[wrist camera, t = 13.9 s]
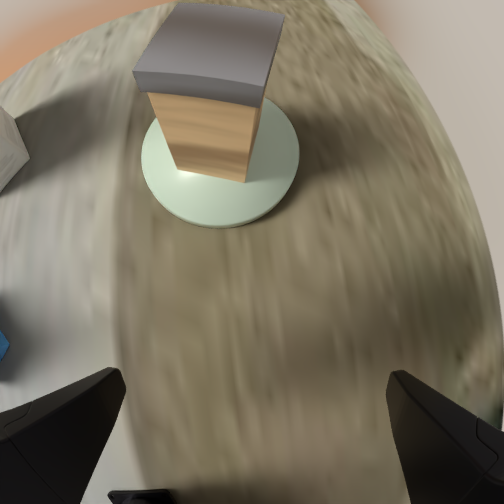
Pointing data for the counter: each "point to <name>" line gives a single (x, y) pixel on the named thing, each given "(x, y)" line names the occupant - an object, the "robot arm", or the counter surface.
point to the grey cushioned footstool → (210, 84)
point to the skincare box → (10, 149)
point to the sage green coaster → (222, 190)
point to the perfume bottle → (3, 345)
